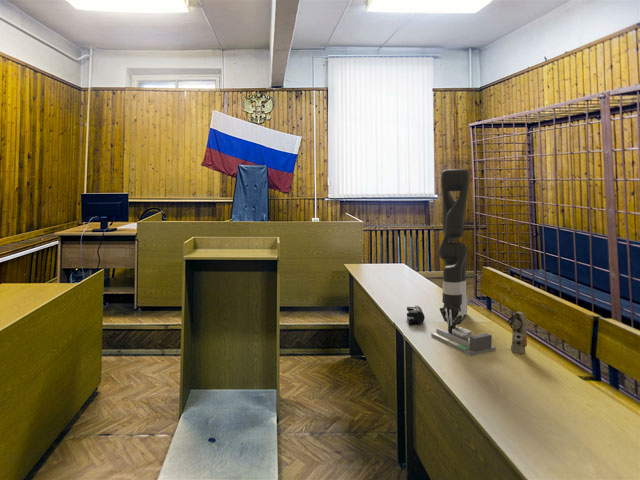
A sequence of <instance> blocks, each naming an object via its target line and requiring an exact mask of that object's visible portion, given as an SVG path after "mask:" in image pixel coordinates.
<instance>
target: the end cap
mask: <svg viewBox="0 0 640 480" xmlns="http://www.w3.org/2000/svg"><path fill="white" fill-rule="evenodd" d="M406 311H407V313H406V321H407V324H408V326H420V325H421V324H423V323H424V322H425V318H426V317H425V314H424V311H423V310H422V308H421V307H420V306H419V305H414V306H407V307H406Z"/></svg>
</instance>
